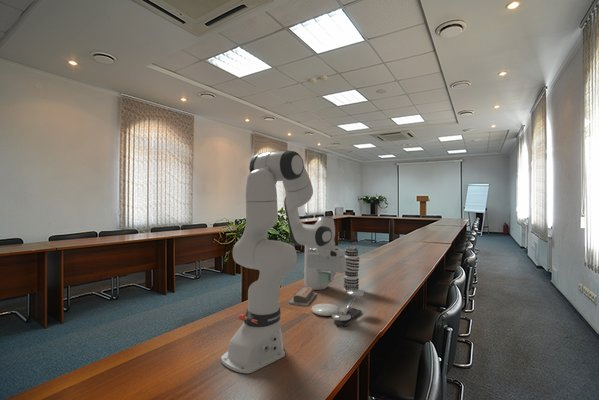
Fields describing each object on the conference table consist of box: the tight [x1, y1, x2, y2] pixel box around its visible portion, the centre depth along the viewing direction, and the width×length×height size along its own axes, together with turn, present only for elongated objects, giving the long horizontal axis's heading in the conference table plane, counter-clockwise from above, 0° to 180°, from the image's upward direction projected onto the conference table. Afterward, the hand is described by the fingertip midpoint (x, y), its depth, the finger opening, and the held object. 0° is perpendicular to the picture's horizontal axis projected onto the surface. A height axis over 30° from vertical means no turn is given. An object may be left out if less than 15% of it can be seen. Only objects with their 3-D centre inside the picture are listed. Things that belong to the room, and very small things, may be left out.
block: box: [319, 271, 333, 285], centre depth 137 cm, size 4×4×4 cm
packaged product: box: [288, 286, 317, 307], centre depth 153 cm, size 18×5×10 cm
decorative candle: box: [343, 246, 360, 292], centre depth 169 cm, size 9×9×25 cm
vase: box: [303, 245, 329, 291], centre depth 175 cm, size 14×14×32 cm
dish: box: [311, 303, 340, 317], centre depth 137 cm, size 13×13×2 cm
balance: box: [331, 288, 365, 327], centre depth 130 cm, size 22×8×10 cm, turn 145°
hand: (325, 279), depth 137 cm, fingers closed on block, 4 cm apart
